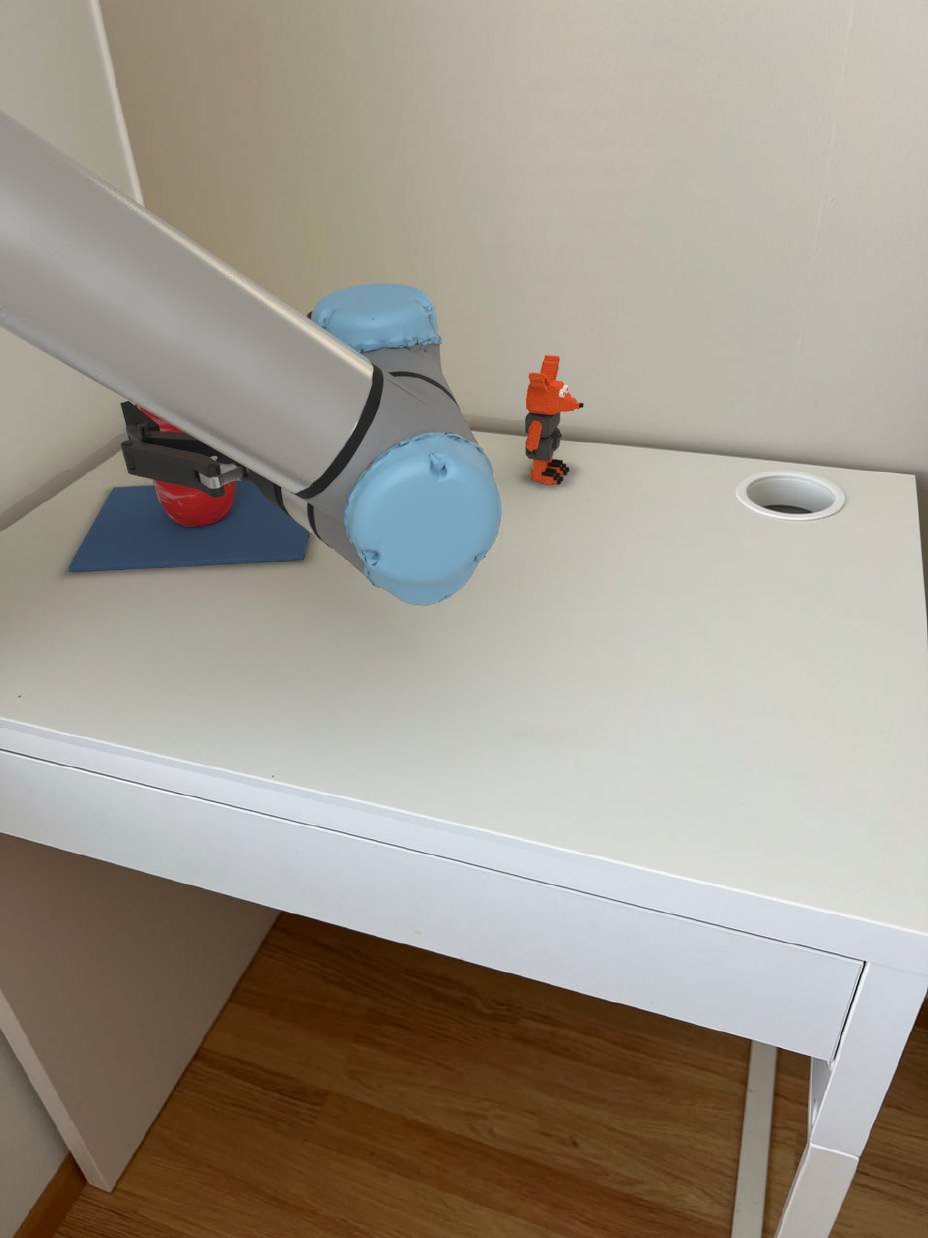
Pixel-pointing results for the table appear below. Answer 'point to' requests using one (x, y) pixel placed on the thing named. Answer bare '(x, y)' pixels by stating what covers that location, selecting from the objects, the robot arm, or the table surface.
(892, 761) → the table surface
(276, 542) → the blue mat
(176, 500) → the water bottle
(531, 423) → the toy animal
